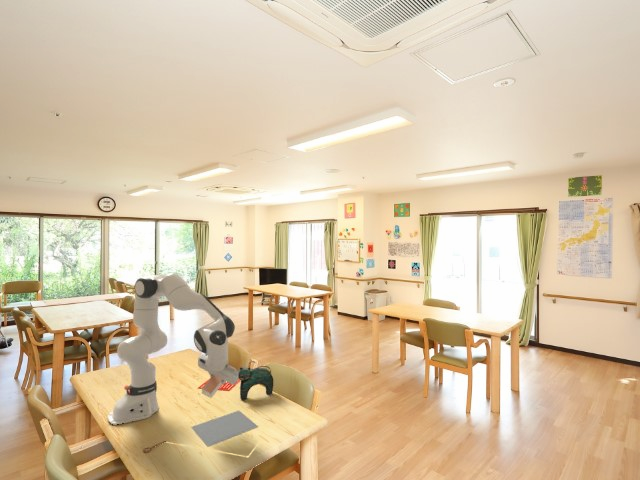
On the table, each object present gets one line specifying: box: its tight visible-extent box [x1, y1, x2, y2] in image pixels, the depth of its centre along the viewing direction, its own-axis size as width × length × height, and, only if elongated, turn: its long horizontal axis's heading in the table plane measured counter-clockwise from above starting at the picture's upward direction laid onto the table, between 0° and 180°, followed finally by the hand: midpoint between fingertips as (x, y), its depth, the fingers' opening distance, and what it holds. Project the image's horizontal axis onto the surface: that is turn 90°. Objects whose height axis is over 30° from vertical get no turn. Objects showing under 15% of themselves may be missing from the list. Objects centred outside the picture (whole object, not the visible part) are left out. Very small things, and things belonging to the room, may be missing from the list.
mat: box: [190, 410, 259, 448], centre depth 156 cm, size 24×20×1 cm
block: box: [201, 375, 223, 399], centre depth 158 cm, size 4×5×14 cm
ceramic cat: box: [237, 360, 274, 401], centre depth 189 cm, size 20×6×20 cm, turn 114°
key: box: [142, 440, 167, 454], centre depth 145 cm, size 6×1×15 cm
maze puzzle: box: [197, 378, 241, 392], centre depth 207 cm, size 20×20×1 cm
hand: (218, 379), depth 160 cm, fingers closed on block, 5 cm apart
